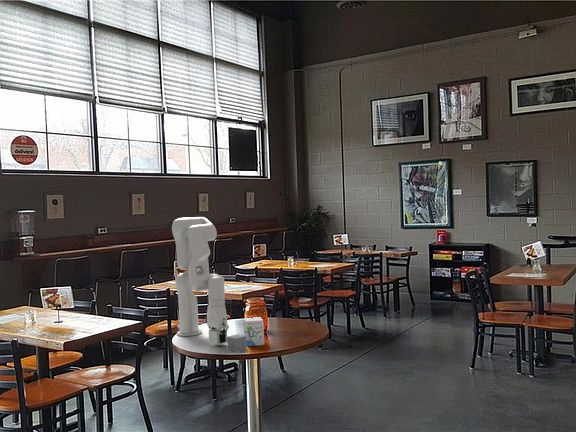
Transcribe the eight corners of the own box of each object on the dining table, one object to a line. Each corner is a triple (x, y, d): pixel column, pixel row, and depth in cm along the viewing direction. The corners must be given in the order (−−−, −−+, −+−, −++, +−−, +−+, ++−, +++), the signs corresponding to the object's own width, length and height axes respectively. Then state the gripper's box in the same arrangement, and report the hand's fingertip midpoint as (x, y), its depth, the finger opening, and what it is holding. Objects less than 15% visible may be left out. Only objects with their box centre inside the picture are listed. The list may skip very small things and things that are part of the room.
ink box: (246, 346, 263) (245, 321, 263) (244, 342, 271) (243, 317, 271) (264, 344, 265) (263, 319, 264) (262, 340, 273) (260, 316, 273)
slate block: (227, 350, 258) (227, 336, 258) (238, 347, 262) (237, 334, 262) (236, 352, 254) (235, 338, 254) (246, 349, 258) (245, 336, 258)
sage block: (209, 343, 267) (208, 330, 266) (219, 340, 271) (218, 327, 271) (217, 345, 262) (216, 332, 262) (227, 342, 267) (226, 329, 266)
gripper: (199, 301, 269) (200, 339, 270) (221, 306, 257) (223, 346, 258) (212, 299, 275) (213, 336, 275) (234, 303, 262) (236, 342, 263)
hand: (218, 340), depth 267 cm, fingers closed on sage block, 6 cm apart
